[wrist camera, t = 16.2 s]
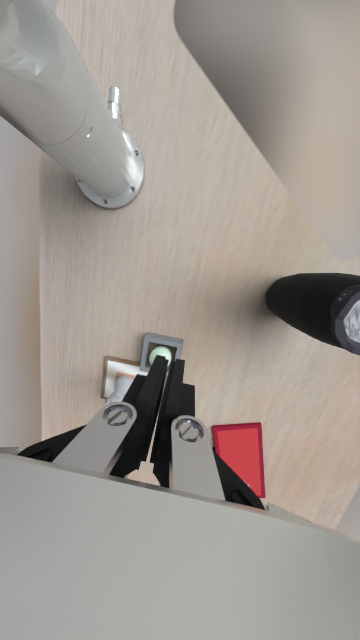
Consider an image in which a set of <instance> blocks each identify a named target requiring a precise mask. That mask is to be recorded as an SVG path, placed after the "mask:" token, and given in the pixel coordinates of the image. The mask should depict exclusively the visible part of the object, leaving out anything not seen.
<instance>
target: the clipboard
mask: <svg viewBox="0 0 360 640" xmlns="http://www.w3.org/2000/svg"><path fill="white" fill-rule="evenodd" d="M140 364H141V363H139V362H134V361H130V360H125V359H120V358H115V357H110V356H106V357H105V366H104V376H103V387H102V399H107V398H108V397H109V396H110V395H111V394H112V393H113V392H114V384H115V382H116V380H117V378H118V377H120V376H123V375H125V376H129V377H131V378H132V379H133V380H134V378H135V377H136V375H137V374H140V375H145V376H147V374H148V372H144V371H140ZM167 377H168V376H166V377H165V383H164V388H165V384H166V381H167ZM164 388H163V392H164ZM162 396H163V393H162ZM161 400H162V399H161ZM160 405H161V404H160ZM159 410H160V408H159Z"/></svg>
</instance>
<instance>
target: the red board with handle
mask: <svg viewBox="0 0 360 640" xmlns="http://www.w3.org/2000/svg"><path fill="white" fill-rule="evenodd" d="M213 434H214V442H215V447H214V448H212V449H213V450H214V451H215V452H216V453H217V454H218V455H219V456H220V457H221V458H222V459H223V460H224V462H225V463H226V464H227V465H228V466H229V467H230V468H231V469H232V470H233V471H234V472H235V473H236V474H237V475H238V476H239V477H240V478H241V479H242V480H243V481H244V482H245V483H246V484H247V485H248V486H249V487H250V488H251V489H252V490H253V491H254V492H255V494H256V495H257V496H258V497H259V498H265V485H264V466H263V447H262V428H261V423H245V424H228V425H213Z"/></svg>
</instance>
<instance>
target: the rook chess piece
mask: <svg viewBox="0 0 360 640" xmlns="http://www.w3.org/2000/svg"><path fill="white" fill-rule="evenodd" d="M132 382H133V379H132V378H131V377H129V376H125V375H123V376H120V377H118V378H117V380H116V382H115V384H114V392H113V393H112V394H111V395H110V396H109V397H108V398H107V399H106V401H105V406H106V405H108V404H110V403H113V402H122V400H123V398H124V396H125V394H126V393H127V391H128V389H129V387H130V385H131V384H132Z"/></svg>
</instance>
